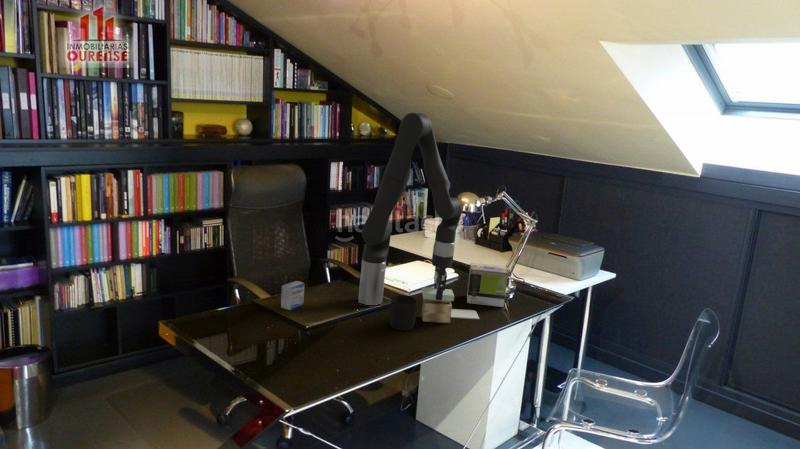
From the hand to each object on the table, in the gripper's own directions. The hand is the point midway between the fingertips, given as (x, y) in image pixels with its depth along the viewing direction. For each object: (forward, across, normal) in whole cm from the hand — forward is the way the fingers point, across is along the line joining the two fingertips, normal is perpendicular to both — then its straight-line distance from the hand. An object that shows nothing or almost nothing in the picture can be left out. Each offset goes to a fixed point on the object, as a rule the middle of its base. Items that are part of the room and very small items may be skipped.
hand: (437, 296), depth 221 cm
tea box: (+9, -23, +23) cm, 34 cm away
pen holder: (+10, +8, -13) cm, 18 cm away
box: (+9, 0, 0) cm, 9 cm away
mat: (+9, -7, +11) cm, 16 cm away
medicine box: (+10, -4, -53) cm, 54 cm away
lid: (0, 0, 0) cm, 0 cm away
